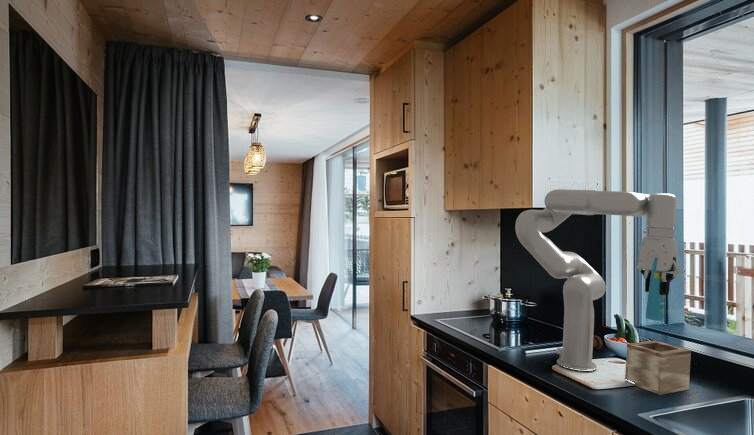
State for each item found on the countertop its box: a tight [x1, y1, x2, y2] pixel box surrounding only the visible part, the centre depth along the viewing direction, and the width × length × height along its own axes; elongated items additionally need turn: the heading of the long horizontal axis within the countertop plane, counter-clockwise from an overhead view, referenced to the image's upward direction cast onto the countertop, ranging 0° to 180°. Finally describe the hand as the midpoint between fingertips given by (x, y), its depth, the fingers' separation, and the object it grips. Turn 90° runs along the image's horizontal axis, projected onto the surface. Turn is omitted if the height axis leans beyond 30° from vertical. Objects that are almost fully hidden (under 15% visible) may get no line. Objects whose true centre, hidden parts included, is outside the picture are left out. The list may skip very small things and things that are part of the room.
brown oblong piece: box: [593, 334, 604, 351], centre depth 186 cm, size 6×5×15 cm
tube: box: [645, 258, 666, 322], centre depth 148 cm, size 7×5×19 cm, turn 137°
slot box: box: [624, 340, 692, 396], centre depth 150 cm, size 12×14×12 cm
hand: (656, 292), depth 148 cm, fingers closed on tube, 4 cm apart
